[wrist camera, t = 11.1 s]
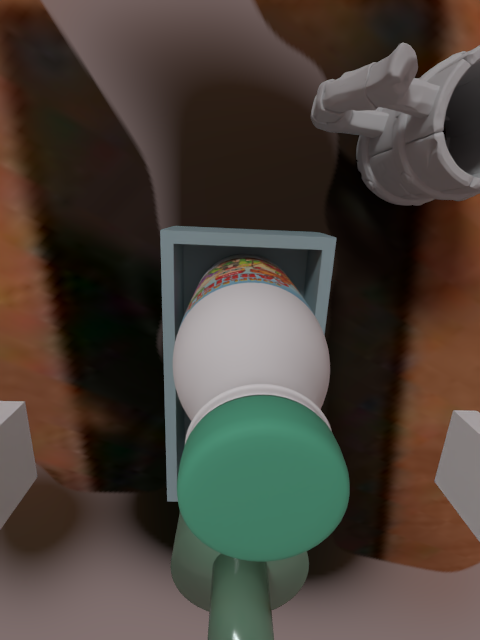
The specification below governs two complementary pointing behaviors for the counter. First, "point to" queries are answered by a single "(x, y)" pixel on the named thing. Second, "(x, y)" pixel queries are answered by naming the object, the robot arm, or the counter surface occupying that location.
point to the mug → (410, 125)
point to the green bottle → (234, 586)
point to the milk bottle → (256, 416)
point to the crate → (187, 271)
